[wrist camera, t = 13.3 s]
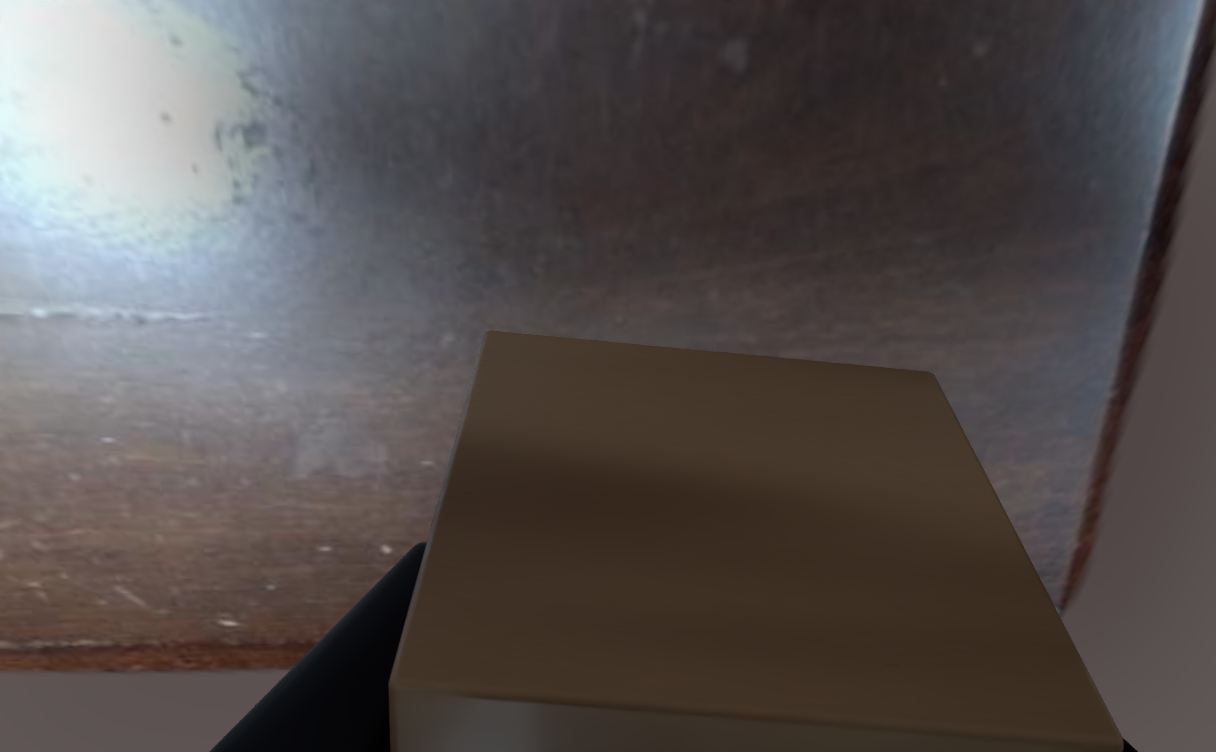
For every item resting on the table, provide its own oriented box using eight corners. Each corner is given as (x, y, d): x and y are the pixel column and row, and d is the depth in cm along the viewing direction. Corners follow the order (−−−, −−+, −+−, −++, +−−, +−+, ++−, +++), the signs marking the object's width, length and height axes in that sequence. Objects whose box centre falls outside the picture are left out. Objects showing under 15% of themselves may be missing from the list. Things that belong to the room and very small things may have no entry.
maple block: (838, 683, 11) (934, 1102, 7) (472, 652, 11) (396, 1064, 7) (935, 369, 9) (1132, 746, 5) (484, 327, 9) (385, 684, 5)
